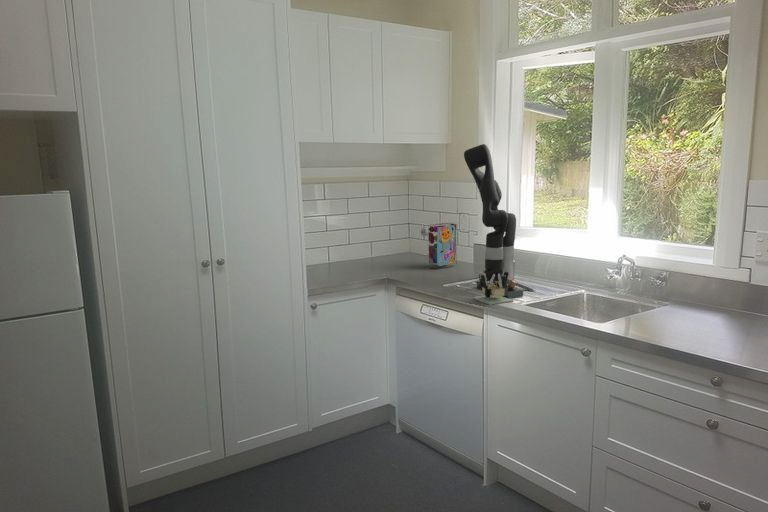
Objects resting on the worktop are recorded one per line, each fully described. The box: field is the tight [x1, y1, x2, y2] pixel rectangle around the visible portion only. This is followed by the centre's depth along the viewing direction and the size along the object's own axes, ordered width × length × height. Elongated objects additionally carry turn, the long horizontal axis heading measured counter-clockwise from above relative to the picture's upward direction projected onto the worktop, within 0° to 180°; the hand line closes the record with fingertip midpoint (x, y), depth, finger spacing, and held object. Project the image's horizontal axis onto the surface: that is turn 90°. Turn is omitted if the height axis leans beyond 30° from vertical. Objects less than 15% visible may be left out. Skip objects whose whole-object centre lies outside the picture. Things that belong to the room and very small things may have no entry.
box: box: [420, 222, 458, 270], centre depth 304 cm, size 25×6×24 cm, turn 129°
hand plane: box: [476, 269, 524, 299], centre depth 251 cm, size 8×24×8 cm, turn 24°
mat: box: [472, 295, 514, 306], centre depth 237 cm, size 12×12×1 cm
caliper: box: [507, 278, 537, 292], centre depth 258 cm, size 20×1×6 cm, turn 47°
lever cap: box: [481, 283, 505, 297], centre depth 236 cm, size 5×9×4 cm, turn 24°
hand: (493, 296), depth 237 cm, fingers closed on lever cap, 5 cm apart
